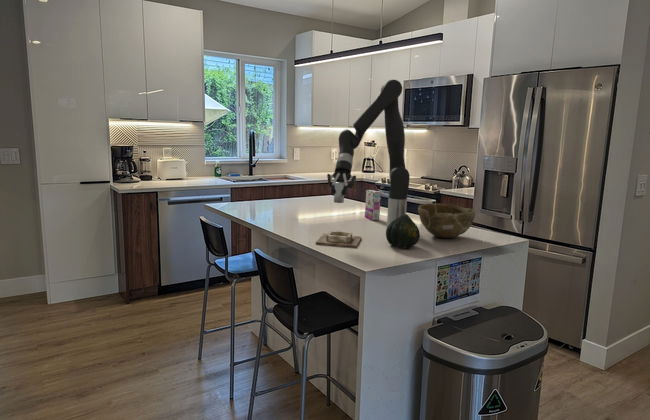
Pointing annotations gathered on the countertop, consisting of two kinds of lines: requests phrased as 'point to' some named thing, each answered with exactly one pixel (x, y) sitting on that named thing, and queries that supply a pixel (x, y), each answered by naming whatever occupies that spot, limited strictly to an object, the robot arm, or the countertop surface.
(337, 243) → the socket board
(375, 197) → the candy bar box
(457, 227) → the bowl
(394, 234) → the squash
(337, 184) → the steel cylinder
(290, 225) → the countertop surface
